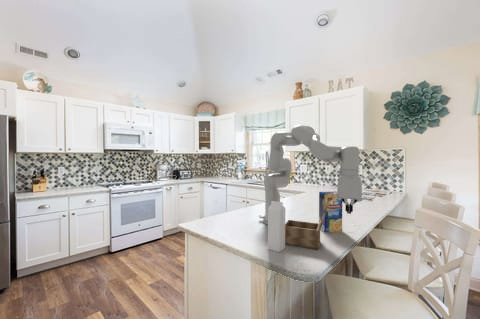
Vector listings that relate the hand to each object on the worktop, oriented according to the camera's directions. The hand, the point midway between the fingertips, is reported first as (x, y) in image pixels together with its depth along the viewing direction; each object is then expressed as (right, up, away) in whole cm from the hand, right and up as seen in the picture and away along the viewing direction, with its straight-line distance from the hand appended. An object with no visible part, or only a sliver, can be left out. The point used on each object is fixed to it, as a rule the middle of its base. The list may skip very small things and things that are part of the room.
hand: (349, 213), depth 105 cm
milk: (-33, -17, +2) cm, 37 cm away
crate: (-19, -17, +9) cm, 27 cm away
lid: (-10, 0, +4) cm, 11 cm away
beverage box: (+3, -17, +29) cm, 34 cm away
